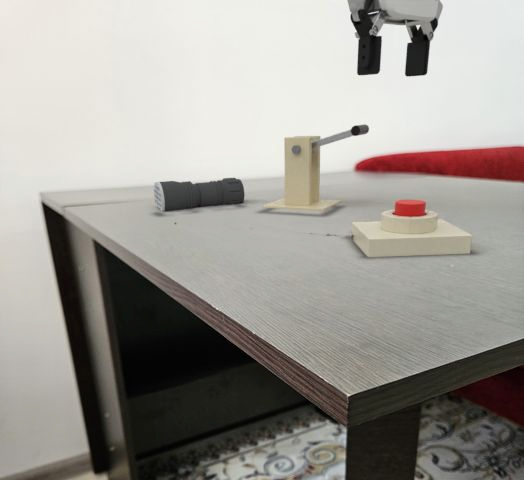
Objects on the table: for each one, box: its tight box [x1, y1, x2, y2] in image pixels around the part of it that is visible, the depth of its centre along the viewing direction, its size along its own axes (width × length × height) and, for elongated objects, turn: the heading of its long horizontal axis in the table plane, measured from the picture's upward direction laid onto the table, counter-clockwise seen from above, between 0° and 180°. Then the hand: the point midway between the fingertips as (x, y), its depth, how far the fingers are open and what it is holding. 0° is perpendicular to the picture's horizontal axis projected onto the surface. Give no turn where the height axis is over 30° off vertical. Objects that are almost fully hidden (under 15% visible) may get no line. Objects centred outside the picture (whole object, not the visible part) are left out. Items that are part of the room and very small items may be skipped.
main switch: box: [312, 123, 370, 154], centre depth 84 cm, size 12×5×2 cm, turn 64°
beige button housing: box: [350, 208, 473, 258], centre depth 64 cm, size 12×10×4 cm
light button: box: [394, 199, 427, 217], centre depth 63 cm, size 4×4×2 cm
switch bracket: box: [261, 135, 342, 212], centre depth 88 cm, size 11×9×12 cm
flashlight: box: [153, 177, 245, 212], centre depth 91 cm, size 15×5×5 cm, turn 115°
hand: (392, 75), depth 68 cm, fingers open, 9 cm apart
